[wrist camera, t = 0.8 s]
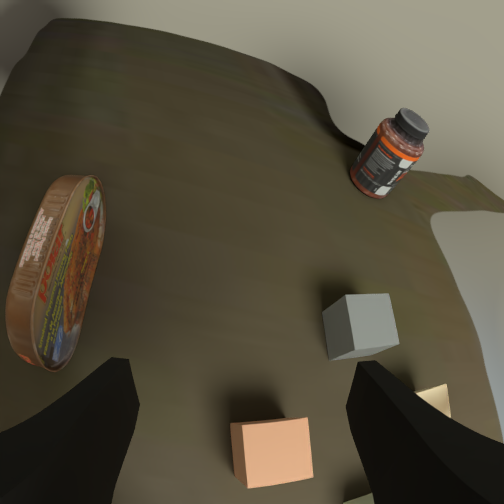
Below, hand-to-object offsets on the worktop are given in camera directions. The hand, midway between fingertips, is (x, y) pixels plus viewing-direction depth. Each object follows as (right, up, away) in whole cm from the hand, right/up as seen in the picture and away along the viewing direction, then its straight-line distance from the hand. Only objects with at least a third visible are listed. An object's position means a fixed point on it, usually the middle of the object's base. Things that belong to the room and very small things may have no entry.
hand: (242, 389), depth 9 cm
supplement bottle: (+15, +13, +29) cm, 36 cm away
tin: (-15, +1, +15) cm, 21 cm away
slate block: (+9, -3, +19) cm, 21 cm away
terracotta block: (+1, -11, +12) cm, 16 cm away
